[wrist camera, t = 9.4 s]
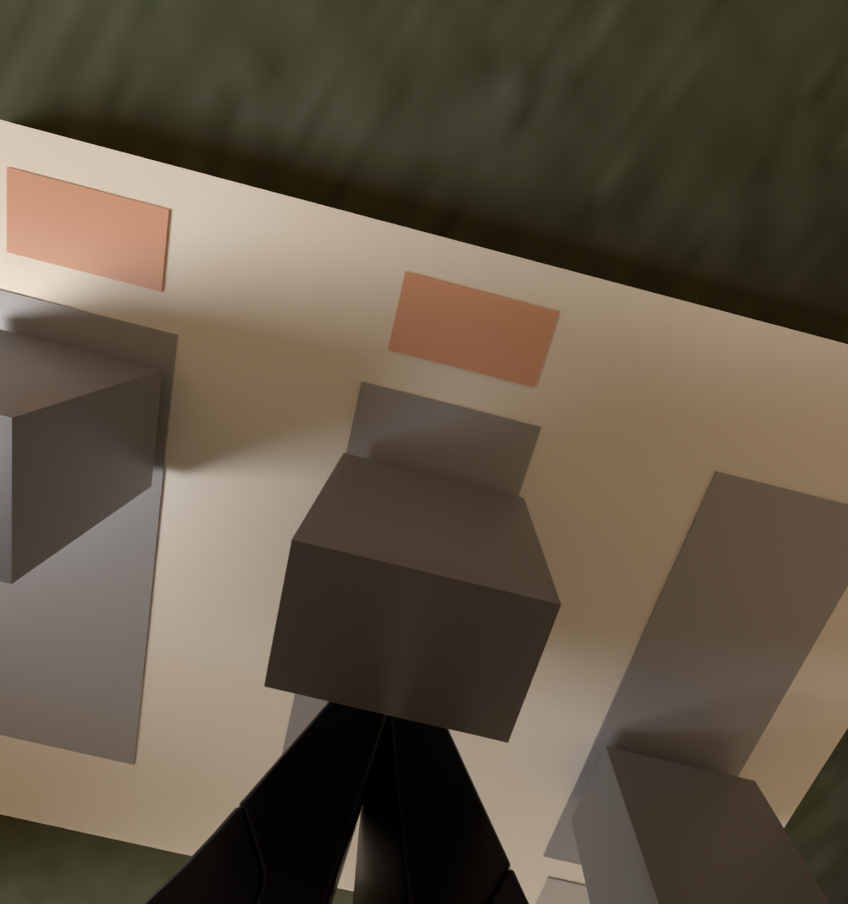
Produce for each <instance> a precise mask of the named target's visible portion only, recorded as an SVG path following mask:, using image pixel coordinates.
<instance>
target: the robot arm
mask: <svg viewBox="0 0 848 904" xmlns="http://www.w3.org/2000/svg"><path fill="white" fill-rule="evenodd" d="M361 808H362V809H361ZM360 812H361V815H360ZM359 815H360V824H359V833H358V845H357V858H356V870H355V882H354V895H353V904H529V903H528V901H527V898H526V896H525V894H524V892H523V890H522V888H521V885H520V883H519V881H518V879H517V877H516V874H515V872H514V871H513V870H512V869H510V862H509V860H508V857H507V855H506V853H505V851H504V849H503V847H502V844H501V842H500V840H499V838H498V836H497V834H496V831H495V829H494V827H493V825H492V823H491V821H490V818H489V816H488V814H487V812H486V810H485V808H484V805H483V803H482V801H481V799H480V797H479V795H478V792H477V790H476V788H475V786H474V784H473V781H472V779H471V777H470V775H469V773H468V771H467V768H466V766H465V764H464V762H463V760H462V758H461V755H460V753H459V751H458V749H457V747H456V745H455V742H454V740H453V738H452V736H451V734H450V732H449V729H446V728H442V727H437V726H433V725H429V724H424V723H420V722H416V721H411V720H407V719H403V718H398V717H394V716H390V715H385V714H381V713H377V712H372V711H368V710H364V709H359V708H355V707H351V706H346V705H342V704H338V703H333V702H329V701H328V702H327V703H326V704H325V706H324V707H323V708H322V709H321V710H320V711H319V712H318V714H317V715H316V716H315V717H314V718H313V719H312V720H311V722H310V723H309V724H308V725H307V726H306V727H305V729H304V730H303V731H302V732H301V733H300V734H299V735H298V737H297V738H296V739H295V740H294V741H293V742H292V744H291V745H290V746H289V747H288V748H287V749H286V750H285V752H284V753H283V754H282V755H281V756H280V757H279V758H278V760H277V761H276V762H275V763H274V764H273V765H272V767H271V768H270V769H269V770H268V771H267V772H266V773H265V775H264V776H263V777H262V778H261V779H260V780H259V781H258V783H257V784H256V785H255V786H254V787H253V788H252V790H251V791H250V792H249V793H248V794H247V795H246V796H245V798H244V799H243V800H242V801H241V802H240V804H239V807H236V808H235V809H234V810H233V811H232V812H231V813H230V814H229V816H228V817H227V818H226V819H225V820H224V821H223V822H222V824H221V825H220V826H219V827H218V828H217V829H216V831H215V832H214V833H213V834H212V835H211V836H210V837H209V838H208V839H207V840H206V841H205V842H204V844H203V845H202V846H201V847H200V848H199V849H198V850H197V851H196V852H195V853H194V854H193V855H192V857H191V858H190V859H189V860H188V861H187V862H186V863H185V864H184V865H183V866H182V867H181V868H180V869H179V870H178V871H177V872H176V873H175V874H174V875H173V876H172V877H171V878H170V879H169V880H168V881H167V882H166V883H165V884H164V885H163V886H162V887H161V888H160V889H159V890H158V891H157V892H156V893H154V894H153V895H152V896H151V897H150V898H149V899H148V900H147V901H146V902H145V903H144V904H332V903H333V900H334V896H335V893H336V890H337V887H338V884H339V880H340V877H341V874H342V871H343V868H344V864H345V861H346V858H347V855H348V851H349V848H350V845H351V842H352V839H353V835H354V832H355V829H356V825H357V822H358V818H359Z"/></svg>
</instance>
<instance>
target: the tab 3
mask: <svg viewBox="0 0 848 904" xmlns="http://www.w3.org/2000/svg"><path fill="white" fill-rule="evenodd" d="M571 822H572V827H573V831H574V835H575V840H576V844H577V848H578V853H579V857H580V862H581V866H582V870H583V875H584V879H585V883H586V888H587V892H588V897H589V901H590V904H830V902H829V901H828V899H827V897H826V896H825V894H824V893H823V891H822V889H821V888H820V886H819V884H818V883H817V881H816V880H815V878H814V876H813V875H812V873H811V871H810V870H809V868H808V867H807V865H806V863H805V862H804V860H803V858H802V857H801V855H800V853H799V852H798V850H797V849H796V847H795V845H794V844H793V842H792V840H791V839H790V837H789V836H788V834H787V832H786V831H785V829H784V827H783V826H782V824H781V822H780V821H779V819H778V818H777V816H776V814H775V813H774V811H773V809H772V808H771V806H770V805H769V803H768V801H767V800H766V798H765V796H764V795H763V793H762V791H761V790H760V788H759V787H758V785H757V783H756V782H755V781H754V780H750V779H745V778H741V777H737V776H732V775H728V774H724V773H720V772H715V771H711V770H707V769H702V768H698V767H694V766H689V765H685V764H681V763H677V762H672V761H668V760H664V759H659V758H655V757H651V756H646V755H642V754H638V753H634V752H629V751H625V750H621V749H616V748H612V747H608V746H605V748H604V750H603V752H602V754H601V757H600V759H599V761H598V763H597V765H596V767H595V770H594V772H593V774H592V776H591V778H590V780H589V783H588V785H587V787H586V789H585V791H584V793H583V796H582V798H581V800H580V802H579V804H578V807H577V809H576V811H575V813H574V815H573V817H572V820H571Z"/></svg>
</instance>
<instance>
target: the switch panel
mask: <svg viewBox="0 0 848 904" xmlns="http://www.w3.org/2000/svg"><path fill="white" fill-rule="evenodd" d="M0 329H1V330H5V331H9V332H13V333H17V334H21V335H25V336H29V337H33V338H37V339H41V340H45V341H49V342H53V343H57V344H61V345H65V346H69V347H73V348H77V349H81V350H85V351H89V352H92V353H96V354H100V355H104V356H108V357H112V358H116V359H120V360H124V361H128V362H132V363H136V364H140V365H144V366H148V367H152V368H156V369H160V370H162V379H161V389H160V400H159V411H158V422H157V432H156V443H155V454H154V465H153V475H152V486H151V487H150V488H148V489H147V490H146V491H144V492H143V493H141V494H140V495H138V496H137V497H136V498H134V499H133V500H131V501H130V502H128V503H127V504H125V505H124V506H123V507H121V508H120V509H118V510H117V511H115V512H114V513H113V514H111V515H110V516H108V517H107V518H105V519H104V520H103V521H101V522H100V523H98V524H97V525H95V526H94V527H93V528H91V529H90V530H88V531H87V532H85V533H84V534H83V535H81V536H80V537H78V538H77V539H75V540H74V541H73V542H71V543H70V544H68V545H67V546H65V547H64V548H63V549H61V550H60V551H58V552H57V553H55V554H54V555H53V556H51V557H50V558H48V559H47V560H45V561H44V562H43V563H41V564H40V565H38V566H37V567H35V568H34V569H33V570H31V571H30V572H28V573H27V574H25V575H24V576H23V577H21V578H20V579H18V580H17V581H15V582H14V583H12V584H8V583H4V582H0V814H1V815H6V816H10V817H15V818H19V819H24V820H29V821H33V822H38V823H42V824H47V825H51V826H56V827H61V828H65V829H70V830H74V831H79V832H84V833H88V834H93V835H97V836H102V837H106V838H111V839H116V840H120V841H125V842H129V843H134V844H138V845H143V846H148V847H152V848H157V849H161V850H166V851H171V852H175V853H180V854H184V855H189V856H192V855H193V854H194V853H195V852H196V851H197V850H198V849H199V848H200V847H201V846H202V845H203V844H204V842H205V841H206V840H207V839H208V838H209V837H210V836H211V835H212V834H213V833H214V832H215V831H216V829H217V828H218V827H219V826H220V825H221V824H222V822H223V821H224V820H225V819H226V818H227V817H228V816H229V814H230V813H231V812H232V811H233V810H234V809H235V808H236V807H239V804H240V802H241V801H242V800H243V799H244V798H245V796H246V795H247V794H248V793H249V792H250V791H251V790H252V788H253V787H254V786H255V785H256V784H257V783H258V781H259V780H260V779H261V778H262V777H263V776H264V775H265V773H266V772H267V771H268V770H269V769H270V768H271V767H272V765H273V764H274V763H275V762H276V761H277V760H278V758H279V757H280V756H281V755H282V754H283V753H284V752H285V750H286V749H287V748H288V747H289V746H290V745H291V744H292V742H293V741H294V740H295V739H296V738H297V737H298V735H299V734H300V733H301V732H302V731H303V730H304V729H305V727H306V726H307V725H308V724H309V723H310V722H311V720H312V719H313V718H314V717H315V716H316V715H317V714H318V712H319V711H320V710H321V709H322V708H323V707H324V706H325V704H326V703H327V702H328V701H325V700H320V699H316V698H312V697H307V696H303V695H299V694H294V693H290V692H286V691H281V690H277V689H273V688H268V687H264V683H265V678H266V673H267V667H268V662H269V657H270V652H271V646H272V641H273V636H274V630H275V625H276V620H277V615H278V609H279V604H280V599H281V593H282V588H283V583H284V578H285V572H286V567H287V562H288V557H289V551H290V546H291V541H292V538H293V537H294V535H295V533H296V532H297V530H298V528H299V527H300V525H301V523H302V522H303V520H304V518H305V517H306V515H307V513H308V512H309V510H310V508H311V507H312V505H313V503H314V502H315V500H316V498H317V497H318V495H319V493H320V491H321V490H322V488H323V486H324V485H325V483H326V481H327V480H328V478H329V476H330V475H331V473H332V471H333V470H334V468H335V466H336V465H337V463H338V461H339V460H340V458H341V456H342V455H343V453H346V454H350V455H354V456H358V457H362V458H366V459H370V460H374V461H378V462H382V463H386V464H390V465H394V466H398V467H403V468H407V469H411V470H415V471H419V472H423V473H427V474H431V475H435V476H439V477H443V478H447V479H451V480H455V481H459V482H463V483H467V484H471V485H475V486H479V487H483V488H487V489H491V490H495V491H499V492H503V493H507V494H511V495H515V496H519V497H523V498H524V500H525V502H526V505H527V508H528V511H529V514H530V517H531V520H532V522H533V525H534V528H535V531H536V534H537V537H538V540H539V542H540V545H541V548H542V551H543V554H544V557H545V560H546V562H547V565H548V568H549V571H550V574H551V577H552V580H553V582H554V585H555V588H556V591H557V594H558V597H559V600H560V602H561V607H560V609H559V612H558V614H557V617H556V620H555V622H554V625H553V627H552V630H551V633H550V635H549V638H548V640H547V643H546V646H545V648H544V651H543V653H542V656H541V659H540V661H539V664H538V666H537V669H536V672H535V674H534V677H533V679H532V682H531V685H530V687H529V690H528V692H527V695H526V698H525V700H524V703H523V705H522V708H521V711H520V713H519V716H518V718H517V721H516V724H515V726H514V729H513V731H512V734H511V737H510V739H509V742H508V743H507V742H502V741H498V740H494V739H489V738H485V737H481V736H476V735H472V734H468V733H463V732H459V731H455V730H450V729H449V732H450V734H451V736H452V738H453V740H454V742H455V745H456V747H457V749H458V751H459V753H460V755H461V758H462V760H463V762H464V764H465V766H466V768H467V771H468V773H469V775H470V777H471V779H472V781H473V784H474V786H475V788H476V790H477V792H478V795H479V797H480V799H481V801H482V803H483V805H484V808H485V810H486V812H487V814H488V816H489V818H490V821H491V823H492V825H493V827H494V829H495V831H496V834H497V836H498V838H499V840H500V842H501V844H502V847H503V849H504V851H505V853H506V855H507V857H508V860H509V862H510V869H512V870H513V871H514V872H515V874H516V877H517V879H518V881H519V883H520V885H521V888H522V890H523V892H524V894H525V896H526V898H527V901H528V903H529V904H590V901H589V897H588V892H587V888H586V883H585V879H584V875H583V870H582V866H581V862H580V857H579V853H578V848H577V844H576V840H575V835H574V831H573V827H572V822H571V820H572V817H573V815H574V813H575V811H576V809H577V807H578V804H579V802H580V800H581V798H582V796H583V793H584V791H585V789H586V787H587V785H588V783H589V780H590V778H591V776H592V774H593V772H594V770H595V767H596V765H597V763H598V761H599V759H600V757H601V754H602V752H603V750H604V748H605V746H608V747H612V748H616V749H621V750H625V751H629V752H634V753H638V754H642V755H646V756H651V757H655V758H659V759H664V760H668V761H672V762H677V763H681V764H685V765H689V766H694V767H698V768H702V769H707V770H711V771H715V772H720V773H724V774H728V775H732V776H737V777H741V778H745V779H750V780H754V781H755V782H756V783H757V785H758V787H759V788H760V790H761V791H762V793H763V795H764V796H765V798H766V800H767V801H768V803H769V805H770V806H771V808H772V809H773V811H774V813H775V814H776V816H777V818H778V819H779V821H780V822H781V824H782V826H783V827H785V826H786V824H787V822H788V821H789V819H790V818H791V816H792V815H793V813H794V811H795V810H796V808H797V807H798V805H799V804H800V802H801V800H802V799H803V797H804V796H805V794H806V793H807V791H808V789H809V788H810V786H811V785H812V783H813V782H814V780H815V778H816V777H817V775H818V774H819V772H820V771H821V769H822V768H823V766H824V764H825V763H826V761H827V760H828V758H829V757H830V755H831V753H832V752H833V750H834V749H835V747H836V746H837V744H838V742H839V741H840V739H841V738H842V736H843V735H844V733H845V731H846V730H847V728H848V344H845V343H841V342H837V341H834V340H830V339H826V338H822V337H819V336H815V335H811V334H807V333H803V332H800V331H796V330H792V329H788V328H785V327H781V326H777V325H773V324H769V323H766V322H762V321H758V320H754V319H751V318H747V317H743V316H739V315H735V314H732V313H728V312H724V311H720V310H717V309H713V308H709V307H705V306H701V305H698V304H694V303H690V302H686V301H683V300H679V299H675V298H671V297H667V296H664V295H660V294H656V293H652V292H649V291H645V290H641V289H637V288H634V287H630V286H626V285H622V284H618V283H615V282H611V281H607V280H603V279H600V278H596V277H592V276H588V275H584V274H581V273H577V272H573V271H569V270H566V269H562V268H558V267H554V266H550V265H547V264H543V263H539V262H535V261H532V260H528V259H524V258H520V257H516V256H513V255H509V254H505V253H501V252H498V251H494V250H490V249H486V248H482V247H479V246H475V245H471V244H467V243H464V242H460V241H456V240H452V239H448V238H445V237H441V236H437V235H433V234H430V233H426V232H422V231H418V230H414V229H411V228H407V227H403V226H399V225H396V224H392V223H388V222H384V221H380V220H377V219H373V218H369V217H365V216H362V215H358V214H354V213H350V212H346V211H343V210H339V209H335V208H331V207H328V206H324V205H320V204H316V203H312V202H309V201H305V200H301V199H297V198H294V197H290V196H286V195H282V194H279V193H275V192H271V191H267V190H263V189H260V188H256V187H252V186H248V185H245V184H241V183H237V182H233V181H229V180H226V179H222V178H218V177H214V176H211V175H207V174H203V173H199V172H195V171H192V170H188V169H184V168H180V167H177V166H173V165H169V164H165V163H161V162H158V161H154V160H150V159H146V158H143V157H139V156H135V155H131V154H127V153H124V152H120V151H116V150H112V149H109V148H105V147H101V146H97V145H93V144H90V143H86V142H82V141H78V140H75V139H71V138H67V137H63V136H59V135H56V134H52V133H48V132H44V131H41V130H37V129H33V128H29V127H25V126H22V125H18V124H14V123H10V122H7V121H3V120H0ZM361 809H362V808H361ZM360 815H361V812H360ZM360 815H359V818H358V822H357V825H356V829H355V832H354V835H353V839H352V842H351V845H350V848H349V851H348V855H347V858H346V861H345V864H344V868H343V871H342V874H341V877H340V880H339V884H338V887H337V888H340V889H345V890H349V891H354V882H355V870H356V858H357V845H358V833H359V824H360Z"/></svg>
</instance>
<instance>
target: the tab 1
mask: <svg viewBox="0 0 848 904" xmlns="http://www.w3.org/2000/svg"><path fill="white" fill-rule="evenodd" d="M161 379H162V370H160V369H156V368H152V367H148V366H144V365H140V364H136V363H132V362H128V361H124V360H120V359H116V358H112V357H108V356H104V355H100V354H96V353H92V352H89V351H85V350H81V349H77V348H73V347H69V346H65V345H61V344H57V343H53V342H49V341H45V340H41V339H37V338H33V337H29V336H25V335H21V334H17V333H13V332H9V331H5V330H1V329H0V582H4V583H8V584H12V583H14V582H15V581H17V580H18V579H20V578H21V577H23V576H24V575H25V574H27V573H28V572H30V571H31V570H33V569H34V568H35V567H37V566H38V565H40V564H41V563H43V562H44V561H45V560H47V559H48V558H50V557H51V556H53V555H54V554H55V553H57V552H58V551H60V550H61V549H63V548H64V547H65V546H67V545H68V544H70V543H71V542H73V541H74V540H75V539H77V538H78V537H80V536H81V535H83V534H84V533H85V532H87V531H88V530H90V529H91V528H93V527H94V526H95V525H97V524H98V523H100V522H101V521H103V520H104V519H105V518H107V517H108V516H110V515H111V514H113V513H114V512H115V511H117V510H118V509H120V508H121V507H123V506H124V505H125V504H127V503H128V502H130V501H131V500H133V499H134V498H136V497H137V496H138V495H140V494H141V493H143V492H144V491H146V490H147V489H148V488H150V487H151V486H152V475H153V465H154V454H155V443H156V432H157V422H158V411H159V400H160V389H161Z"/></svg>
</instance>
